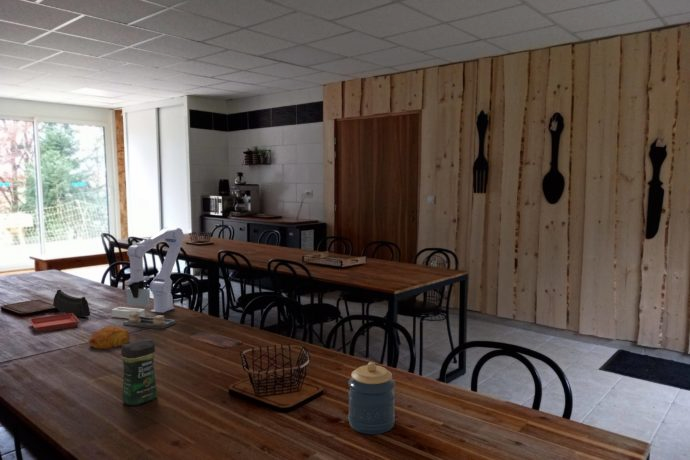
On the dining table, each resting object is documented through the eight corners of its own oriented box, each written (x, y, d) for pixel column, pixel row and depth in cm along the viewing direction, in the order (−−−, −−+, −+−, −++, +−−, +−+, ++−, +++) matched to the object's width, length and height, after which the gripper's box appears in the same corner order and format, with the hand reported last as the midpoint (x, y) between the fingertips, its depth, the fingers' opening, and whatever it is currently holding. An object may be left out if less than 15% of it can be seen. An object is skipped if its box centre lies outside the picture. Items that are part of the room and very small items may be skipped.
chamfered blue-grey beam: (129, 303, 246) (129, 287, 245) (150, 305, 242) (149, 289, 241) (126, 304, 244) (126, 288, 243) (147, 306, 240) (146, 290, 239)
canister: (341, 430, 134) (341, 367, 132) (357, 409, 146) (357, 351, 144) (387, 439, 129) (388, 374, 127) (400, 417, 141) (400, 357, 140)
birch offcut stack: (133, 322, 236) (133, 312, 235) (140, 323, 234) (140, 313, 234) (128, 324, 232) (127, 314, 232) (135, 325, 231) (134, 315, 230)
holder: (120, 313, 251) (119, 306, 251) (146, 316, 246) (145, 309, 246) (111, 316, 246) (110, 309, 245) (137, 319, 241) (137, 312, 240)
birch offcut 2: (158, 325, 231) (157, 320, 231) (165, 326, 230) (164, 321, 230) (153, 327, 228) (152, 322, 228) (160, 328, 227) (160, 323, 226)
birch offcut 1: (157, 320, 231) (157, 315, 230) (164, 320, 230) (163, 315, 230) (153, 322, 227) (153, 317, 227) (159, 323, 227) (159, 317, 226)
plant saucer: (72, 318, 244) (72, 312, 243) (80, 327, 230) (79, 320, 229) (29, 325, 233) (29, 318, 232) (34, 334, 218) (34, 327, 218)
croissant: (116, 341, 216) (114, 323, 216) (136, 343, 206) (134, 323, 207) (82, 349, 204) (80, 330, 204) (102, 351, 195) (100, 331, 195)
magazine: (92, 300, 242) (61, 276, 257) (85, 302, 239) (55, 277, 254) (88, 331, 246) (58, 306, 262) (82, 333, 244) (52, 307, 259)
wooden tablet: (185, 334, 214) (204, 326, 222) (186, 339, 215) (205, 331, 222) (225, 347, 198) (244, 338, 206) (225, 352, 198) (244, 343, 206)
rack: (138, 319, 241) (138, 316, 241) (175, 323, 234) (175, 320, 234) (123, 324, 232) (123, 321, 232) (161, 329, 225) (161, 325, 225)
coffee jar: (132, 409, 147) (129, 348, 145) (118, 401, 152) (115, 343, 150) (161, 397, 154) (159, 340, 152) (148, 391, 159) (145, 335, 157)
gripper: (140, 267, 250) (141, 293, 251) (119, 271, 236) (120, 299, 237) (151, 267, 247) (152, 294, 249) (131, 272, 234) (132, 300, 235)
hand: (137, 297), depth 243 cm, fingers closed on chamfered blue-grey beam, 2 cm apart
